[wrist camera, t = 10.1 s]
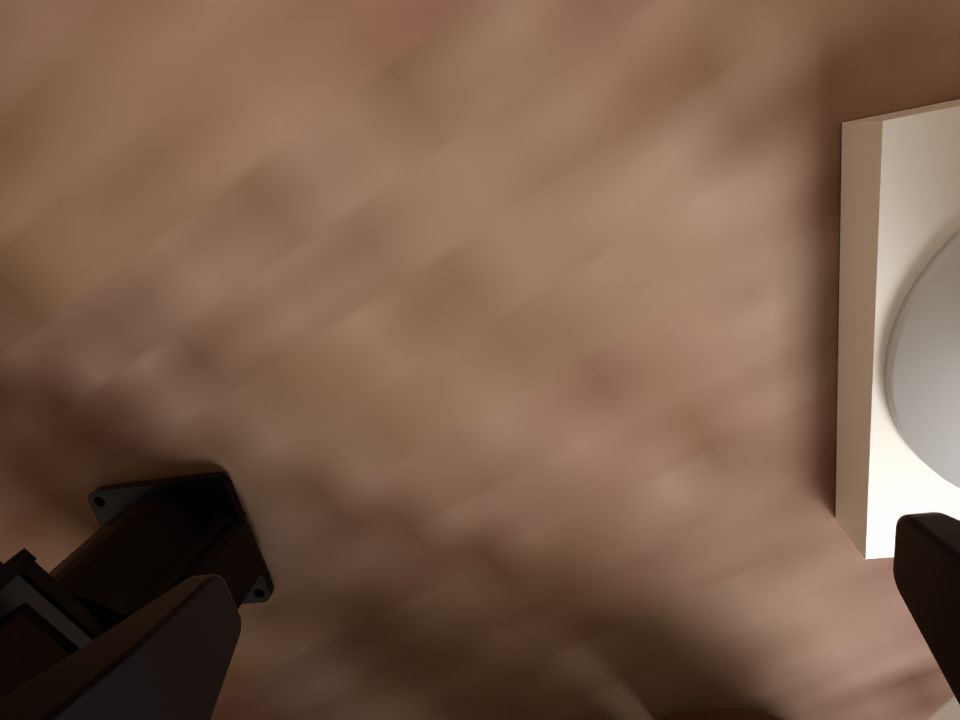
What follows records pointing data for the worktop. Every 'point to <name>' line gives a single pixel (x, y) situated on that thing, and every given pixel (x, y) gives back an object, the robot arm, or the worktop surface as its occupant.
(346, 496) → the worktop surface
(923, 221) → the scale
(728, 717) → the food container
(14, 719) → the robot arm
